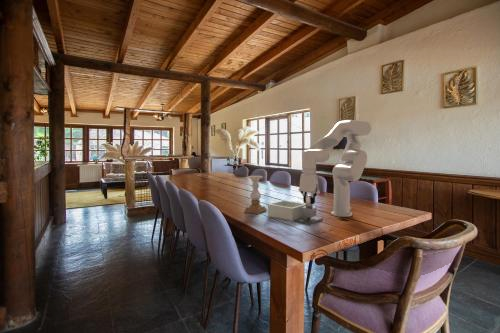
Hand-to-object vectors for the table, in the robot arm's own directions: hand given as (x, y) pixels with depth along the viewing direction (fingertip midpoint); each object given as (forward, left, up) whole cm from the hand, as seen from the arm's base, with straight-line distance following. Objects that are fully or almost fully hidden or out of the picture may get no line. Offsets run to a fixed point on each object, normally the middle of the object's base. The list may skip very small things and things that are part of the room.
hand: (309, 203), depth 158 cm
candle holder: (+3, -39, -11) cm, 41 cm away
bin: (0, -15, -11) cm, 18 cm away
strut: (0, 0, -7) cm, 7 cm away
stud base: (0, 0, -11) cm, 11 cm away
